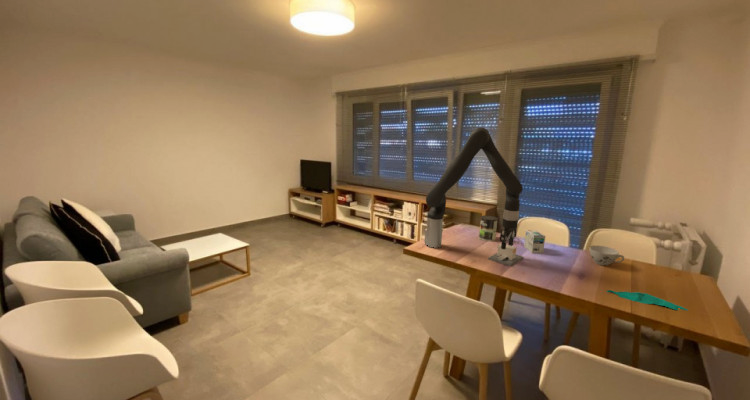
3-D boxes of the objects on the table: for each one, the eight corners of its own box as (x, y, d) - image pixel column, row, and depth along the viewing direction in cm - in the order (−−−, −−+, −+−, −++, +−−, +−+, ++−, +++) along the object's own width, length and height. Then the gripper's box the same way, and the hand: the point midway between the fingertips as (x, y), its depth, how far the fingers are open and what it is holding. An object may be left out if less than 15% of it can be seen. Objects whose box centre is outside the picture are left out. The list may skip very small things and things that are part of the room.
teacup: (585, 263, 165) (588, 249, 163) (588, 257, 174) (590, 243, 172) (621, 272, 155) (624, 257, 154) (622, 264, 165) (625, 250, 163)
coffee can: (485, 241, 196) (487, 220, 193) (475, 236, 205) (477, 215, 203) (499, 240, 199) (501, 219, 196) (488, 235, 209) (490, 215, 206)
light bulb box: (543, 253, 178) (546, 235, 176) (531, 253, 178) (534, 235, 176) (534, 247, 188) (536, 229, 186) (523, 246, 189) (525, 229, 186)
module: (497, 255, 170) (498, 245, 169) (500, 253, 173) (502, 243, 172) (511, 260, 164) (513, 249, 163) (515, 258, 167) (516, 247, 166)
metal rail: (497, 259, 165) (497, 257, 165) (509, 253, 174) (509, 251, 174) (502, 261, 163) (502, 259, 163) (514, 254, 172) (514, 252, 172)
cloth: (689, 307, 125) (690, 302, 125) (689, 321, 116) (690, 315, 115) (609, 284, 143) (610, 280, 143) (604, 295, 133) (605, 290, 133)
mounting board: (488, 259, 168) (488, 257, 168) (502, 252, 179) (502, 250, 178) (510, 266, 159) (510, 264, 159) (523, 258, 170) (523, 256, 170)
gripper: (509, 214, 172) (506, 242, 175) (497, 218, 162) (493, 248, 166) (523, 217, 166) (519, 246, 170) (511, 222, 157) (507, 252, 160)
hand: (506, 247), depth 168 cm, fingers open, 8 cm apart
